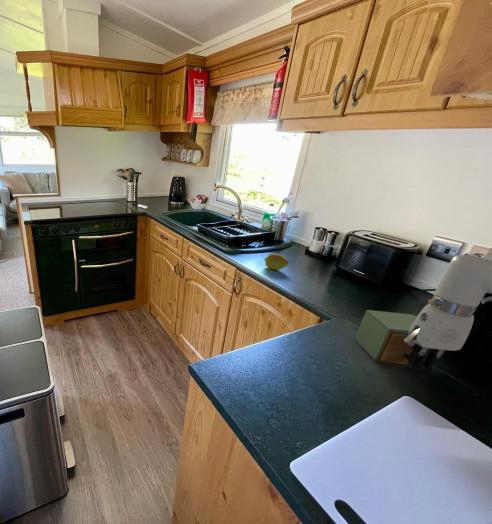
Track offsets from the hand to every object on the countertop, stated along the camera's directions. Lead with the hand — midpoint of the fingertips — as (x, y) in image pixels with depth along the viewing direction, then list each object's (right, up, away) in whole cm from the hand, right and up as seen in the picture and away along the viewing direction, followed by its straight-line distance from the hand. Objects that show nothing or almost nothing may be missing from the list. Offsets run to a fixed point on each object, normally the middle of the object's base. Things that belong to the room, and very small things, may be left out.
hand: (418, 364), depth 77 cm
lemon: (-7, +24, +68) cm, 72 cm away
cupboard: (+2, 0, +12) cm, 12 cm away
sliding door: (-2, -3, +3) cm, 5 cm away
